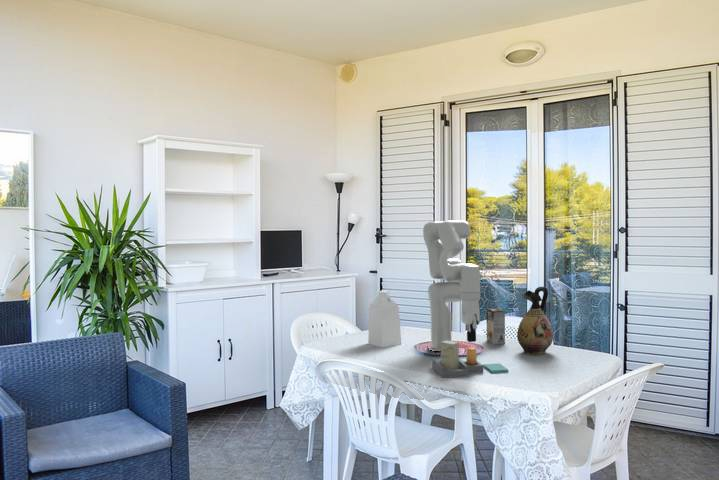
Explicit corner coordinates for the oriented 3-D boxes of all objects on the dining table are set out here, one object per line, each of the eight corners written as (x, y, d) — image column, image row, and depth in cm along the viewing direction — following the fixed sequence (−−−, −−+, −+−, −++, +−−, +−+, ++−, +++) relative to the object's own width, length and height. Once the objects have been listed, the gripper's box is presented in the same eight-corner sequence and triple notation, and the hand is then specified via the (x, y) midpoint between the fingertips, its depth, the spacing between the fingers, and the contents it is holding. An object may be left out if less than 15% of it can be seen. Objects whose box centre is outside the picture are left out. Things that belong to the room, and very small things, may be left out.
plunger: (465, 362, 235) (465, 347, 235) (474, 361, 236) (474, 347, 236) (468, 364, 231) (468, 350, 231) (477, 364, 232) (477, 349, 232)
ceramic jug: (533, 358, 250) (532, 289, 249) (510, 351, 264) (509, 286, 263) (563, 354, 257) (563, 287, 256) (539, 347, 271) (539, 283, 270)
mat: (483, 366, 239) (483, 364, 239) (499, 365, 240) (499, 363, 240) (491, 373, 229) (491, 370, 229) (508, 372, 230) (508, 369, 230)
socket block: (432, 367, 239) (432, 358, 239) (474, 365, 242) (474, 356, 241) (441, 377, 225) (441, 367, 224) (486, 375, 227) (486, 365, 226)
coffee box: (486, 340, 288) (485, 308, 288) (498, 339, 290) (497, 307, 289) (493, 344, 279) (492, 311, 279) (505, 343, 280) (505, 310, 280)
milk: (401, 344, 284) (400, 291, 283) (382, 347, 278) (381, 293, 277) (386, 340, 294) (385, 289, 293) (368, 343, 288) (367, 291, 287)
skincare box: (440, 371, 233) (439, 341, 233) (446, 369, 236) (446, 340, 236) (453, 374, 229) (452, 344, 228) (459, 372, 232) (459, 342, 232)
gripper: (456, 294, 239) (457, 338, 240) (467, 298, 224) (468, 345, 225) (473, 293, 240) (474, 337, 241) (485, 297, 225) (486, 344, 226)
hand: (471, 341), depth 233 cm, fingers closed
